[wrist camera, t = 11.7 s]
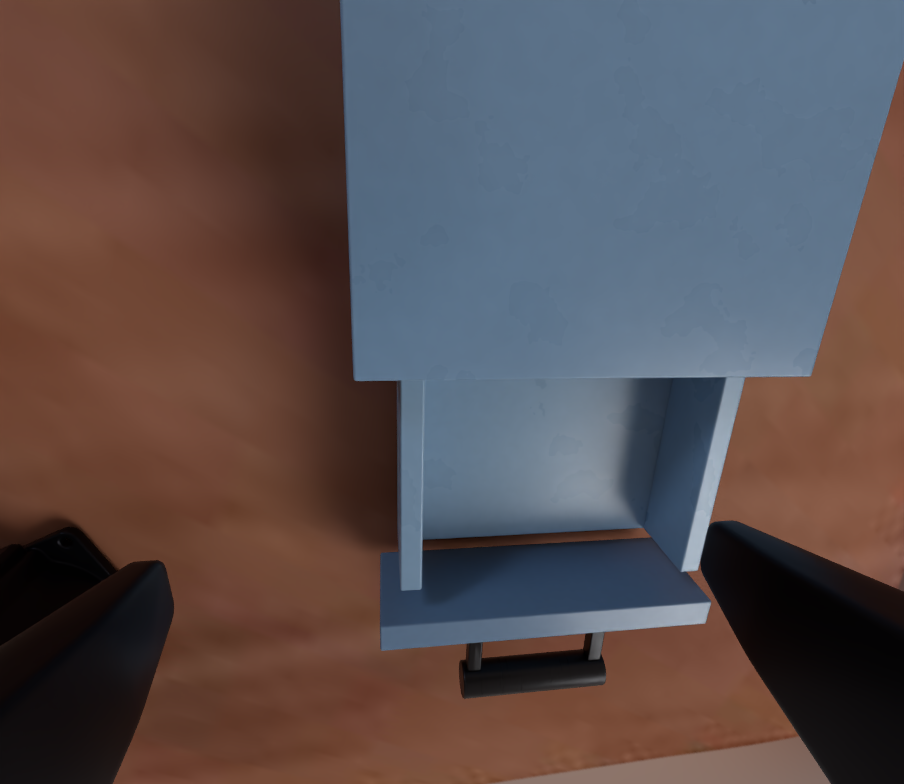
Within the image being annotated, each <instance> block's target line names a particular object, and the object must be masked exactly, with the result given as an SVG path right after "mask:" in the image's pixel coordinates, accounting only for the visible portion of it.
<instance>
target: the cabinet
mask: <svg viewBox="0 0 904 784" xmlns="http://www.w3.org/2000/svg"><path fill="white" fill-rule="evenodd" d="M340 15H341V44H342V72H343V100H344V128H345V156H346V184H347V213H348V241H349V269H350V297H351V325H352V354H353V378H354V380H355V381H407V380H509V379H611V378H713V377H808V376H811V374H812V370H813V367H814V364H815V360H816V357H817V353H818V350H819V347H820V343H821V340H822V336H823V333H824V330H825V326H826V323H827V319H828V316H829V313H830V309H831V306H832V302H833V299H834V296H835V292H836V289H837V285H838V282H839V279H840V275H841V272H842V268H843V265H844V261H845V258H846V255H847V251H848V248H849V244H850V241H851V238H852V234H853V231H854V227H855V224H856V221H857V217H858V214H859V210H860V207H861V204H862V200H863V197H864V193H865V190H866V187H867V183H868V180H869V176H870V173H871V170H872V166H873V163H874V159H875V156H876V153H877V149H878V146H879V142H880V139H881V136H882V132H883V129H884V125H885V122H886V118H887V115H888V112H889V108H890V105H891V101H892V98H893V95H894V91H895V88H896V84H897V81H898V78H899V74H900V71H901V67H902V64H903V61H904V0H340Z"/></svg>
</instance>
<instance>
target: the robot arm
mask: <svg viewBox="0 0 904 784" xmlns="http://www.w3.org/2000/svg"><path fill="white" fill-rule="evenodd" d="M65 537H66V538H69V539H71V540H72V542H70V541H68V540H66V538H65ZM700 562H701V570H702V573H703V576H704V578H705V580H706V581H707V583H708V585H709V587H710V589H711V591H712V592H713V594H714V596H715V598H716V600H717V602H718V604H719V605H720V607H721V609H722V611H723V613H724V615H725V617H726V618H727V620H728V622H729V624H730V626H731V628H732V629H733V631H734V633H735V635H736V637H737V639H738V641H739V642H740V644H741V646H742V648H743V649H744V651H745V653H746V655H747V656H748V658H749V660H750V661H751V663H752V665H753V666H754V668H755V669H756V671H757V672H758V674H759V676H760V677H761V679H762V680H763V682H764V683H765V685H766V686H767V688H768V689H769V691H770V692H771V694H772V695H773V697H774V698H775V700H776V701H777V703H778V704H779V706H780V707H781V709H782V710H783V712H784V713H785V715H786V716H787V718H788V719H789V721H790V722H791V724H792V725H793V727H794V729H795V730H796V732H797V733H798V735H799V736H800V738H801V739H802V741H803V742H804V744H805V745H806V747H807V748H808V750H809V751H810V753H811V754H812V756H813V757H814V759H815V760H816V762H817V763H818V765H819V766H820V768H821V769H822V771H823V772H824V774H825V775H826V777H827V778H828V780H829V781H830V783H831V784H904V592H903V591H901V590H899V589H896V588H894V587H891V586H889V585H887V584H884V583H882V582H880V581H877V580H875V579H873V578H870V577H868V576H865V575H863V574H861V573H858V572H856V571H854V570H851V569H849V568H846V567H844V566H842V565H839V564H837V563H835V562H832V561H830V560H828V559H825V558H823V557H820V556H818V555H816V554H813V553H811V552H809V551H806V550H804V549H802V548H799V547H797V546H794V545H792V544H790V543H787V542H785V541H783V540H780V539H778V538H775V537H773V536H771V535H768V534H766V533H764V532H761V531H759V530H757V529H754V528H752V527H749V526H747V525H745V524H742V523H740V522H737V521H719V522H713V523H711V524H710V526H709V527H708V529H707V533H706V538H705V542H704V547H703V551H702V555H701V561H700ZM173 614H174V601H173V597H172V592H171V588H170V584H169V579H168V575H167V571H166V568H165V565H164V564H163V563H162V562H161V561H159V560H154V561H139V562H133V563H130V564H128V565H127V566H125V567H123V568H122V569H120V570H119V571H116V570H115V569H114V568H113V566H112V565H111V564H110V563H109V562H108V561H107V560H106V558H105V557H104V556H103V555H102V554H101V553H100V552H99V551H98V549H97V548H96V547H95V546H94V545H93V544H92V543H91V542H90V540H89V539H88V538H87V537H86V536H85V535H84V534H83V533H82V532H81V531H80V530H79V529H77V528H74V527H66V528H63V529H60V530H58V531H56V532H54V533H51V534H49V535H47V536H45V537H43V538H40V539H38V540H36V541H34V542H32V543H29V544H27V545H25V546H23V547H22V545H21V544H11V545H8V546H6V547H4V548H2V549H0V784H113V782H114V779H115V777H116V775H117V772H118V770H119V768H120V765H121V763H122V761H123V759H124V756H125V754H126V752H127V749H128V747H129V745H130V742H131V740H132V738H133V735H134V733H135V730H136V728H137V725H138V723H139V720H140V717H141V714H142V712H143V709H144V706H145V703H146V700H147V697H148V694H149V690H150V687H151V684H152V681H153V678H154V675H155V672H156V669H157V666H158V662H159V659H160V656H161V653H162V650H163V647H164V644H165V641H166V637H167V634H168V631H169V628H170V625H171V622H172V618H173Z"/></svg>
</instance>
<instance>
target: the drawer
mask: <svg viewBox="0 0 904 784" xmlns="http://www.w3.org/2000/svg"><path fill="white" fill-rule="evenodd" d="M744 381H745V377H713V378H611V379H509V380H407V381H397V528H398V550H399V552H388V553H381V555H380V649H381V650H382V651H383V650H395V649H407V648H419V647H431V646H443V645H455V644H467V649H466V660H460V663H459V679H460V688H461V694H462V697H463V698H464V699H466V698H476V697H486V696H496V695H506V694H517V693H527V692H537V691H547V690H557V689H567V688H577V687H587V686H597V685H603V684H604V683H605V681H606V669H605V664H604V660H603V657H602V655H601V650H602V644H603V639H604V633H605V632H610V631H622V630H634V629H645V628H657V627H669V626H681V625H693V624H704V623H706V620H707V616H708V612H709V608H710V605H711V601H710V599H709V598H708V597H707V596H706V595H705V593H704V592H703V591H702V590H701V589H700V588H699V586H698V585H697V584H696V583H695V582H694V581H693V579H692V578H691V577H690V576H689V575H688V573H687V572H686V571H697V570H698V567H699V563H700V559H701V555H702V551H703V547H704V542H705V538H706V533H707V529H708V527H709V523H710V518H711V514H712V510H713V506H714V502H715V498H716V494H717V490H718V486H719V482H720V478H721V474H722V470H723V466H724V462H725V458H726V454H727V450H728V446H729V441H730V437H731V433H732V429H733V425H734V421H735V417H736V413H737V409H738V405H739V401H740V397H741V393H742V389H743V385H744ZM630 528H644V529H645V530H646V531H647V532H648V534H649V535H650V536H651V538H633V539H616V540H598V541H581V542H563V543H546V544H528V545H511V546H493V547H476V548H458V549H441V550H423V551H422V545H423V540H427V539H445V538H464V537H482V536H501V535H519V534H538V533H556V532H575V531H593V530H612V529H630ZM574 634H586V635H585V641H584V647H583V649H580V650H569V651H557V652H546V653H535V654H523V655H512V656H501V657H489V658H482V646H483V642H491V641H502V640H514V639H526V638H538V637H550V636H562V635H574Z"/></svg>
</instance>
